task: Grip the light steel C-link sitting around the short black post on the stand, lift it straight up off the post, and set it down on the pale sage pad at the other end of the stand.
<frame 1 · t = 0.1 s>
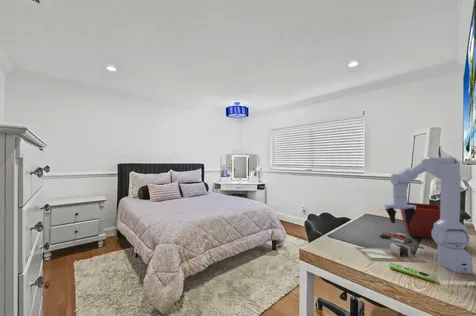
hand: (400, 222, 112), 10 cm above the table, tool pointing down, fingers open, 7 cm apart
stand: (388, 256, 94), on the table
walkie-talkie: (402, 243, 111), on the table
c link: (400, 254, 94), point 1 cm above the table, touching stand
plant pot: (422, 235, 122), on the table
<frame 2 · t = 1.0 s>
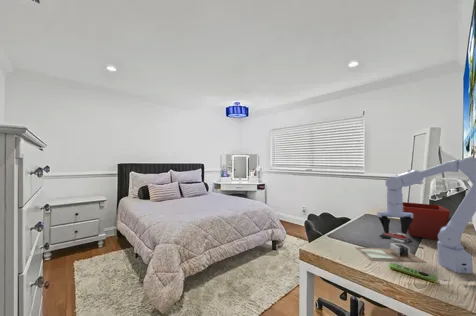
hand: (395, 233, 97), 9 cm above the table, tool pointing down, fingers open, 7 cm apart
nothing on the table moved.
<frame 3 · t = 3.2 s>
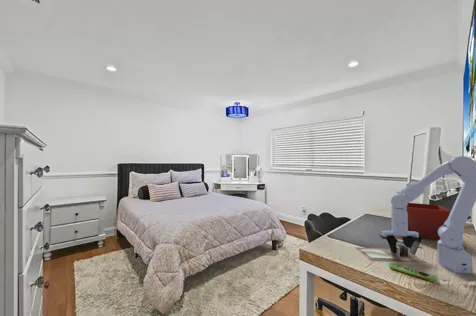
hand: (400, 252, 94), 2 cm above the table, tool pointing down, fingers closed on c link, 5 cm apart
c link: (400, 254, 94), point 1 cm above the table, touching gripper, stand
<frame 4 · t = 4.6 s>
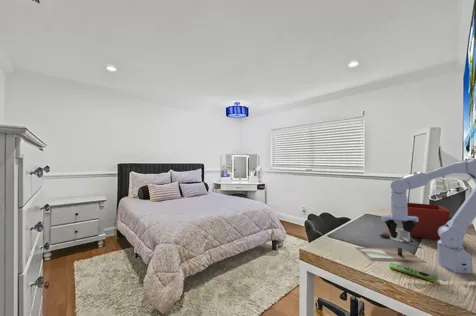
hand: (399, 237, 94), 8 cm above the table, tool pointing down, fingers closed on c link, 5 cm apart
c link: (399, 239, 94), point 8 cm above the table, touching gripper
everything else where it was.
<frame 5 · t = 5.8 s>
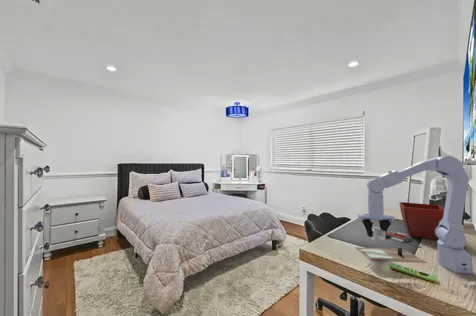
hand: (376, 236, 94), 9 cm above the table, tool pointing down, fingers closed on c link, 5 cm apart
c link: (376, 238, 95), point 8 cm above the table, touching gripper
when the fingers open (3 cm above the table, at t = 7.7 s): c link stays where it is, resting on stand.
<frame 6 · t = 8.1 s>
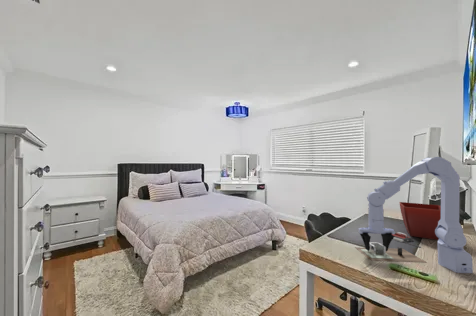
hand: (376, 249, 94), 3 cm above the table, tool pointing down, fingers open, 7 cm apart
c link: (376, 253, 94), point 1 cm above the table, touching stand
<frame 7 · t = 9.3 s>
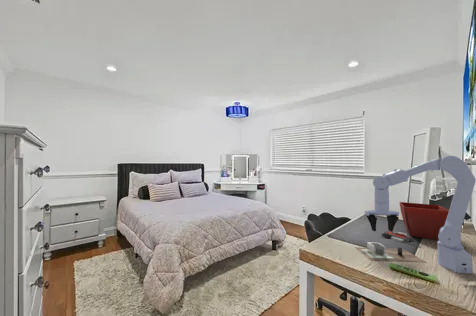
hand: (382, 230, 100), 9 cm above the table, tool pointing down, fingers open, 7 cm apart
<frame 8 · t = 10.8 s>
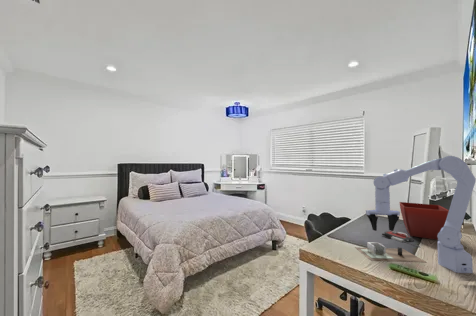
hand: (382, 230, 101), 9 cm above the table, tool pointing down, fingers open, 7 cm apart
at the end: c link 0.0 cm from the target spot on the stand, point 1.2 cm above the stand's base; c link tilted 0°; the gripper is holding nothing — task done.
